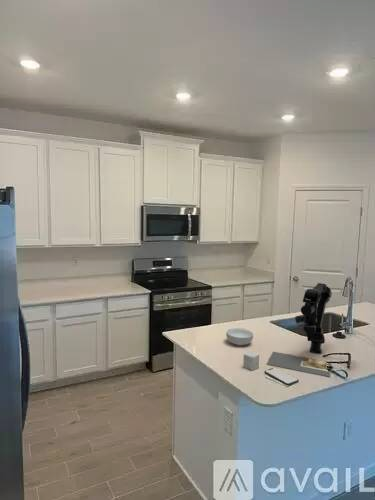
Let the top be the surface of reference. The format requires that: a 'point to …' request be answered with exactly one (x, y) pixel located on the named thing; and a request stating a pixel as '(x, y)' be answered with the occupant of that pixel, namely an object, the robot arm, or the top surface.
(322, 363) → the two-tone wooden plank
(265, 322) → the top surface
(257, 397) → the top surface
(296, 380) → the smartphone
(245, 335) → the cereal bowl
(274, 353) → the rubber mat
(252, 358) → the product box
